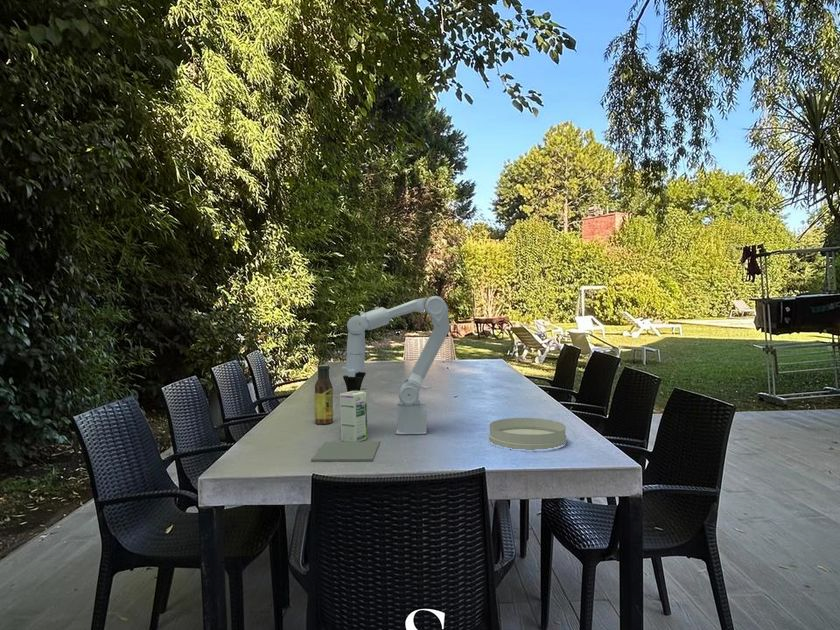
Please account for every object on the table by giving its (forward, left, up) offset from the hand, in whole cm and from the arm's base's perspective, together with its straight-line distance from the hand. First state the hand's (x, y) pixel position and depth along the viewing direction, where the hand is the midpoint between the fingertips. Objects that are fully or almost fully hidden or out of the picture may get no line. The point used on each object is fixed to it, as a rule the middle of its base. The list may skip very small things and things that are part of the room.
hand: (353, 396), depth 172 cm
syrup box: (-1, +9, -12) cm, 15 cm away
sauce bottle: (+13, -15, -12) cm, 23 cm away
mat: (-1, +22, -12) cm, 25 cm away
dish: (-52, +12, -12) cm, 55 cm away
